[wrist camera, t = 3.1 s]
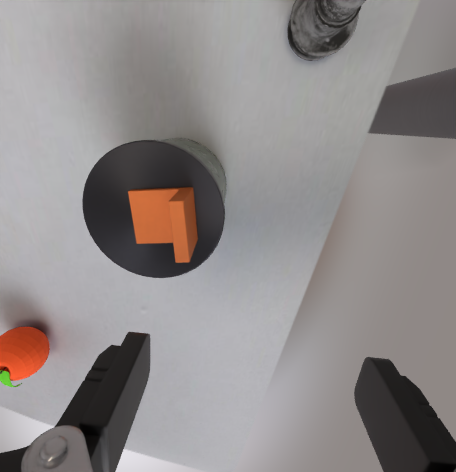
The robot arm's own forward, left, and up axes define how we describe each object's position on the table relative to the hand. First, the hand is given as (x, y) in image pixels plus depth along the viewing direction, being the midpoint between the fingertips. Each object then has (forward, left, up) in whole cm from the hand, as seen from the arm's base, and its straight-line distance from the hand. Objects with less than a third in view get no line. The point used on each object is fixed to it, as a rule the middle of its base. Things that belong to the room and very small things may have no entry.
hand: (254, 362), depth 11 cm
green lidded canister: (+8, -2, -26) cm, 27 cm away
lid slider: (+7, -2, -14) cm, 16 cm away
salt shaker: (-7, -17, -26) cm, 32 cm away
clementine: (+32, +20, -26) cm, 46 cm away
